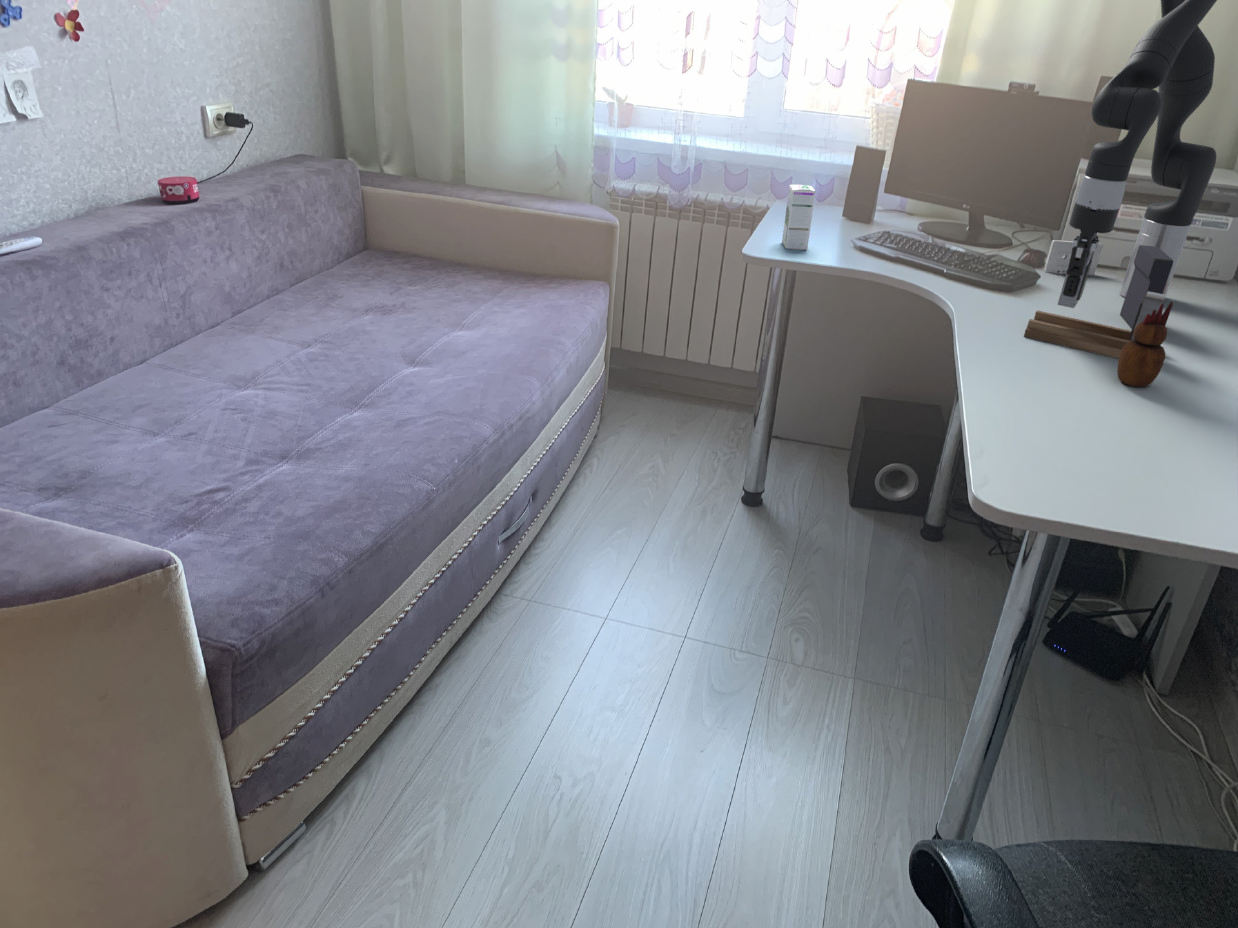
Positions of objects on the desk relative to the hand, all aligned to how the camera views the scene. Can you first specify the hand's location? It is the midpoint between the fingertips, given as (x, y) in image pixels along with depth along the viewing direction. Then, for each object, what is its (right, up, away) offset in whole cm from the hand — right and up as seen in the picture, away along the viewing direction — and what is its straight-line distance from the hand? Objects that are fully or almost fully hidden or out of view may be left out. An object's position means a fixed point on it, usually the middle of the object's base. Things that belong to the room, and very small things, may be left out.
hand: (1070, 292), depth 180 cm
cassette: (+22, +13, +46) cm, 52 cm away
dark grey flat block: (+20, -4, +14) cm, 25 cm away
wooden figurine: (+3, -19, -16) cm, 25 cm away
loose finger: (0, -2, +1) cm, 2 cm away
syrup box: (-43, +21, +52) cm, 71 cm away
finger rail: (+5, -10, +1) cm, 11 cm away
